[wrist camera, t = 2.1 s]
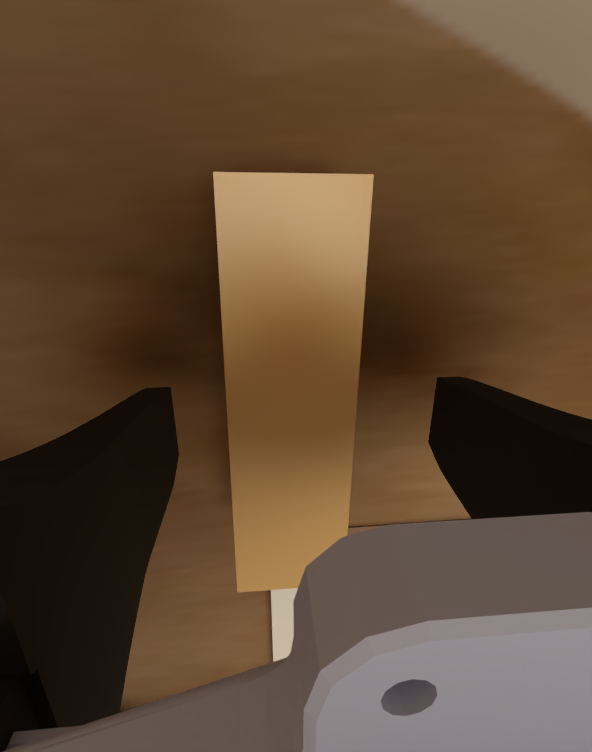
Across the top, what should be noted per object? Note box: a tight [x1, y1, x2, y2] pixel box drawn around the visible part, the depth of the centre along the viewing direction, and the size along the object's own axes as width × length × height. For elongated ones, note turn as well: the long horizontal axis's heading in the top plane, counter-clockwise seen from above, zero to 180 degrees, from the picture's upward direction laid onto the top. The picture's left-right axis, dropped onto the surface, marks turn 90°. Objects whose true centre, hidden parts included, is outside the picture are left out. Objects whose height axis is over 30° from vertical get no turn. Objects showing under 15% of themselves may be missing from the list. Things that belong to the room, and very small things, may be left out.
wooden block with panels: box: [213, 172, 374, 592], centre depth 14 cm, size 4×12×4 cm, turn 179°
